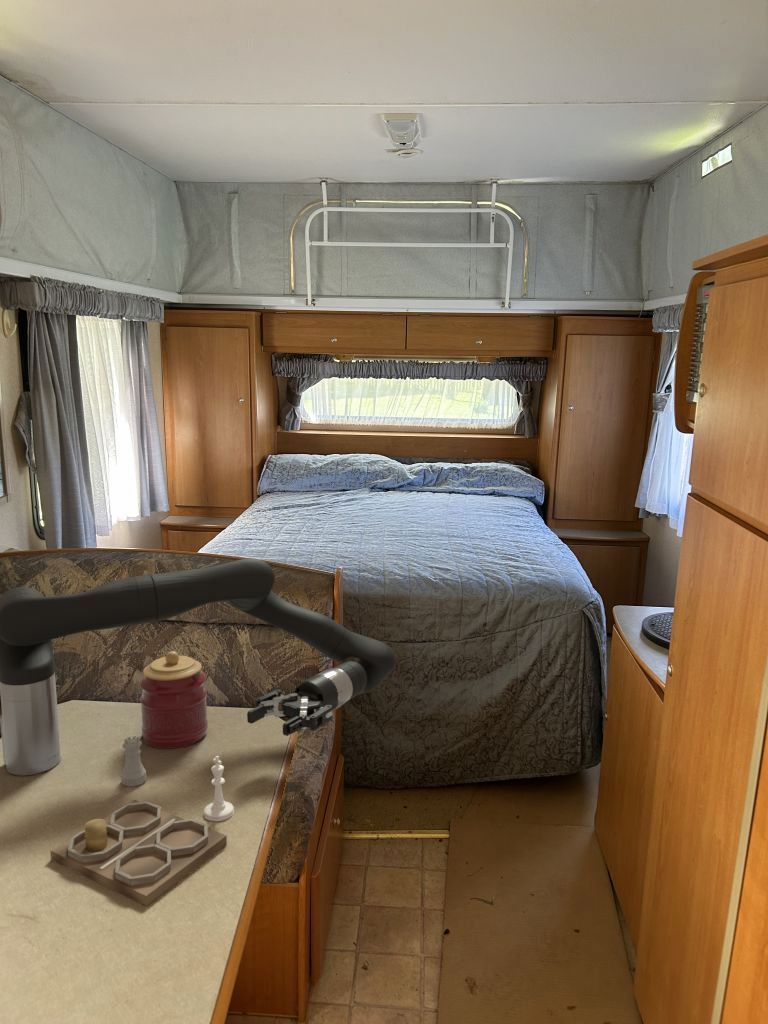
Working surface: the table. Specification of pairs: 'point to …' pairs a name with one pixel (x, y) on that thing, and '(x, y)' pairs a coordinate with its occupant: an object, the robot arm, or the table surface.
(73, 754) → the table surface
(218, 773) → the chess piece
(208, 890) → the table surface
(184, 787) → the table surface
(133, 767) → the rook chess piece
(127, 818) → the brown octagon slot tray
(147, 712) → the canister
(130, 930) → the table surface
